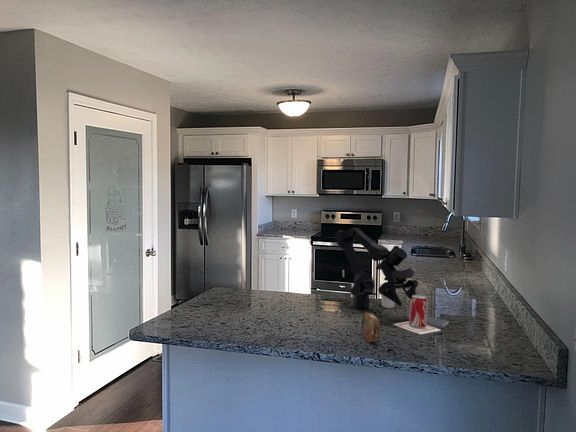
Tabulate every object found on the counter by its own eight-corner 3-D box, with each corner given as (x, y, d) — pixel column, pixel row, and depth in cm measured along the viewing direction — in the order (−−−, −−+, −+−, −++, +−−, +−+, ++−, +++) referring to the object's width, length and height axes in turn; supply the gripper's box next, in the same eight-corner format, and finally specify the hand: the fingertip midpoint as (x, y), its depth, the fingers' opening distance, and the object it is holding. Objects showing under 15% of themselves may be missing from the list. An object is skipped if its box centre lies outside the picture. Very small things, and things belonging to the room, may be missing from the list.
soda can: (420, 330, 176) (422, 299, 175) (404, 325, 181) (406, 295, 180) (430, 327, 180) (432, 297, 180) (414, 322, 185) (416, 293, 185)
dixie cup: (385, 303, 219) (386, 282, 218) (400, 307, 213) (401, 285, 212) (375, 305, 213) (376, 284, 212) (390, 309, 207) (391, 287, 206)
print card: (392, 324, 182) (392, 323, 182) (413, 321, 189) (413, 320, 189) (420, 334, 171) (420, 333, 171) (441, 330, 177) (441, 329, 177)
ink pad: (415, 322, 187) (416, 319, 187) (422, 318, 194) (422, 315, 194) (442, 328, 181) (442, 325, 181) (448, 324, 187) (449, 321, 187)
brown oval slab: (360, 331, 170) (362, 309, 170) (368, 332, 171) (370, 310, 170) (371, 345, 155) (372, 321, 155) (380, 345, 156) (381, 321, 155)
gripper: (385, 262, 181) (404, 295, 173) (417, 260, 192) (436, 292, 183) (370, 278, 188) (388, 310, 180) (401, 275, 199) (419, 306, 190)
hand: (408, 304), depth 183 cm, fingers open, 9 cm apart
